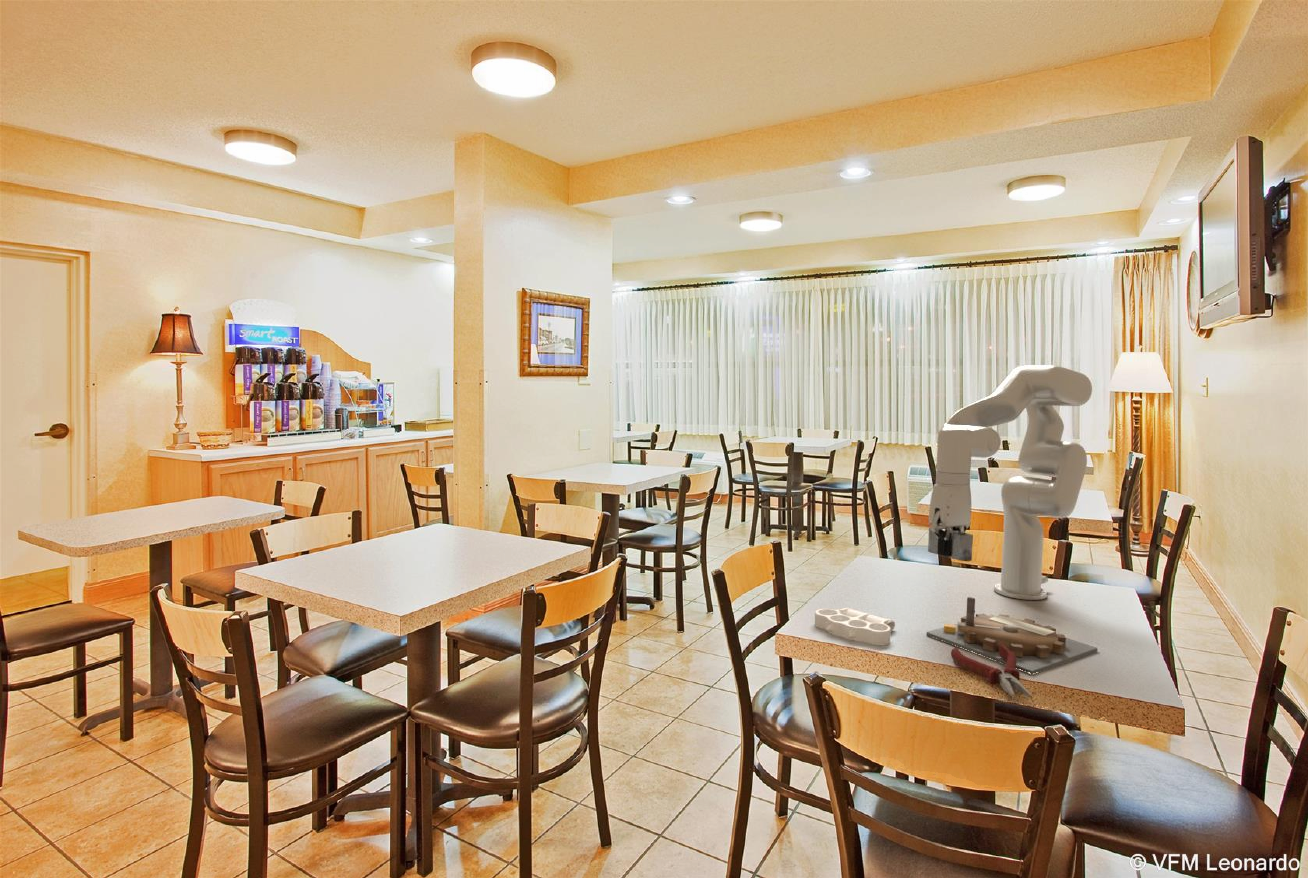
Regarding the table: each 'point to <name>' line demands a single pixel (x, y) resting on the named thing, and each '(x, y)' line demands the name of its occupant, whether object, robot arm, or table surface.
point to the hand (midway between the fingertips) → (949, 553)
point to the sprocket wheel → (1010, 634)
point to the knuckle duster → (855, 625)
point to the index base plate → (1024, 663)
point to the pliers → (994, 670)
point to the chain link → (954, 544)
